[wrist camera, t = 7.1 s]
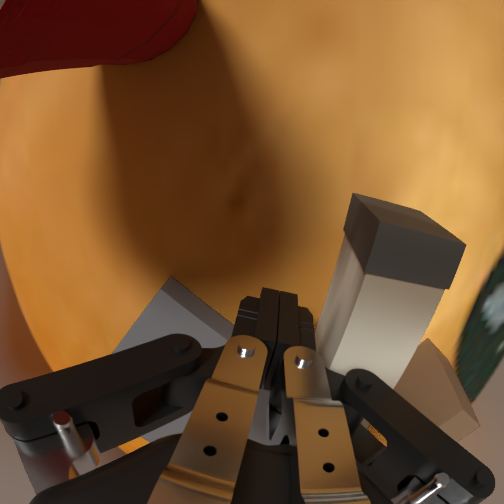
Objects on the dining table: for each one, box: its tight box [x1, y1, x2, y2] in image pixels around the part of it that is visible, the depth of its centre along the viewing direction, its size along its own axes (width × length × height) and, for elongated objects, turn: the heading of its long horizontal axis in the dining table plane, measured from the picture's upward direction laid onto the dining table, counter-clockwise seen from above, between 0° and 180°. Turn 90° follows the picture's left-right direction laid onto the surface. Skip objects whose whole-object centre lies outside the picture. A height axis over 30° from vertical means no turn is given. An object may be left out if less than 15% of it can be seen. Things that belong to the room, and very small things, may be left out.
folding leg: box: [315, 193, 466, 429], centre depth 13 cm, size 16×3×5 cm, turn 170°
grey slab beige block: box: [112, 276, 480, 445], centre depth 16 cm, size 21×17×6 cm
